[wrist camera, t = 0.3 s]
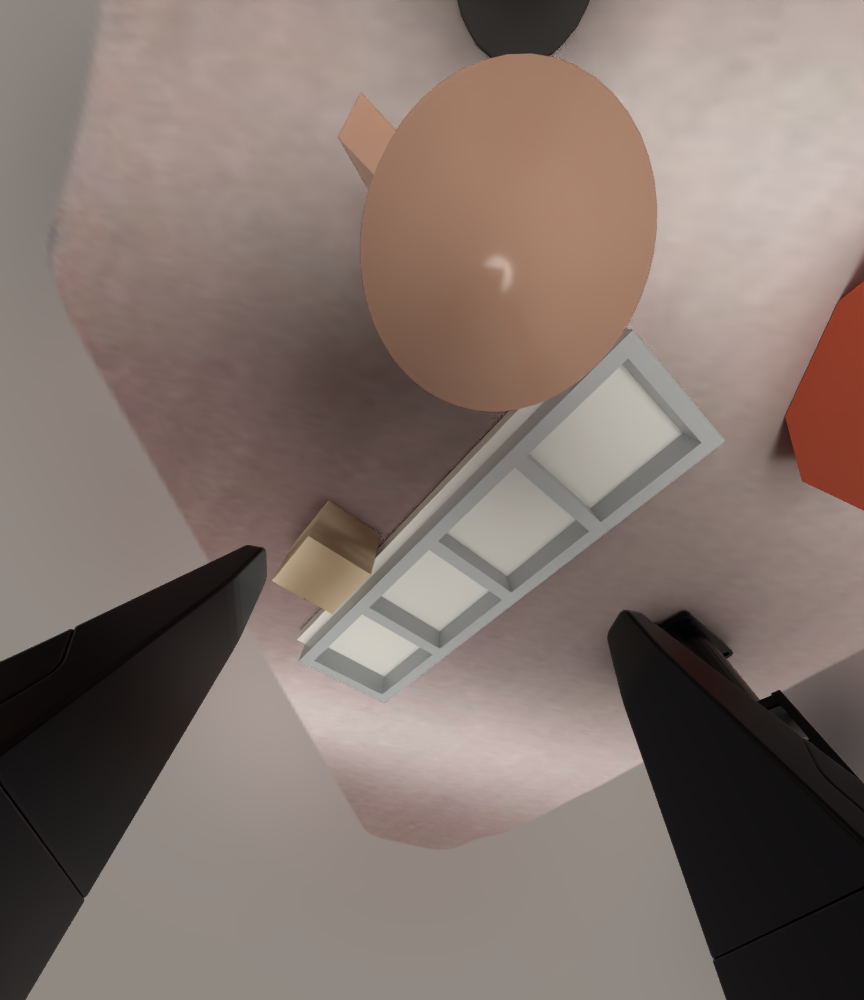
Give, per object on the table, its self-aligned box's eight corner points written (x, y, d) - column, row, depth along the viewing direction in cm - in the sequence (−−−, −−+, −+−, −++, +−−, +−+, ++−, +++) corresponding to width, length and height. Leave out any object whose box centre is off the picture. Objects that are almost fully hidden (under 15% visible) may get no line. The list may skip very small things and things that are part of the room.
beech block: (380, 534, 23) (370, 574, 20) (346, 570, 25) (332, 614, 21) (328, 499, 22) (308, 536, 19) (296, 539, 24) (271, 580, 20)
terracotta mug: (580, 275, 16) (717, 245, 8) (474, 394, 19) (503, 458, 11) (441, 109, 14) (449, -157, 6) (341, 273, 16) (253, 243, 8)
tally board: (699, 433, 20) (732, 449, 18) (394, 677, 30) (391, 707, 28) (599, 316, 17) (623, 317, 15) (301, 629, 27) (289, 657, 25)
